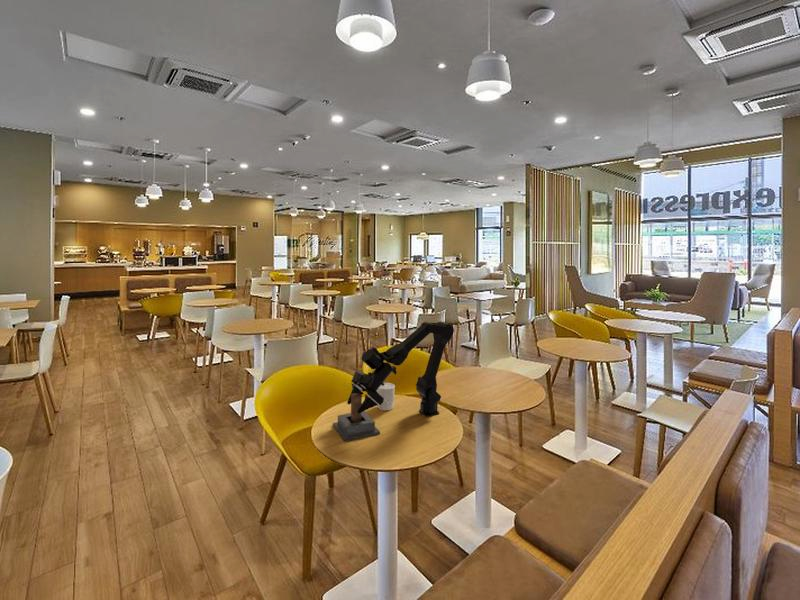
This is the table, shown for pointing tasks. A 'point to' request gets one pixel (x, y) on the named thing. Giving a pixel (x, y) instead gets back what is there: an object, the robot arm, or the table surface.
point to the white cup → (386, 396)
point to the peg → (355, 407)
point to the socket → (355, 427)
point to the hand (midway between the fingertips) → (352, 408)
